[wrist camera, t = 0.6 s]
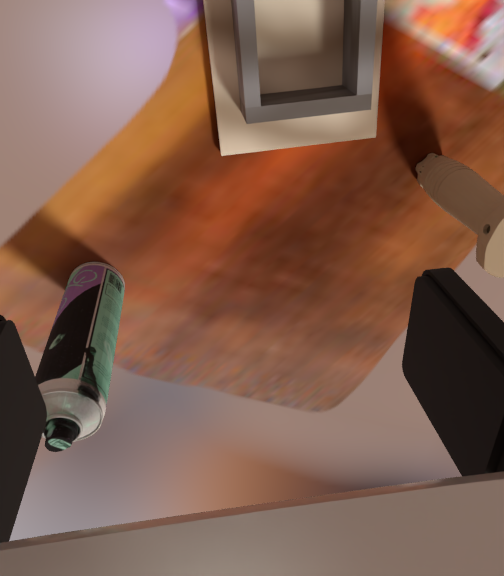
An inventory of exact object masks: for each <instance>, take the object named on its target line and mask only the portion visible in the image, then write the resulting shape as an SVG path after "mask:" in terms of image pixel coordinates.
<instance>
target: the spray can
mask: <svg viewBox="0 0 504 576" xmlns="http://www.w3.org/2000/svg"><path fill="white" fill-rule="evenodd" d="M124 291H125V283H124V280H123V277H122V275H121V274H120V273H119V272H118V271H117V270H116V269H115V268H114V267H112V266H110V265H108V264H105V263H101V262H87V263H84V264H82V265H80V266H78V267H77V268H76V269H74V271H73V272H72V273H71V276H70V278H69V280H68V283H67V286H66V289H65V292H64V295H63V298H62V301H61V304H60V307H59V309H58V312H57V315H56V318H55V321H54V324H53V327H52V330H51V333H50V336H49V339H48V341H47V344H46V347H45V350H44V353H43V356H42V359H41V362H40V365H39V368H38V371H37V373H36V376H35V379H36V381H37V384H38V386H39V389H40V392H41V394H42V397H43V400H44V402H45V405H46V409H47V420H46V424H45V427H44V430H43V433H42V437H44V438H46V441H45V447H46V448H47V449H48V450H49V451H53V452H58V451H62V450H64V449H67V448H68V447H70V446H71V444H72V442H73V441H78V440H82V439H85V438H87V437H89V436H91V435H93V434H94V433H95V432H96V431H97V430H98V429H99V428H100V426H101V423H102V420H103V417H104V415H105V411H106V405H107V398H108V392H109V386H110V379H111V373H112V367H113V360H114V354H115V348H116V341H117V335H118V329H119V322H120V316H121V310H122V303H123V297H124Z"/></svg>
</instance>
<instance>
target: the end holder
mask: <svg viewBox="0 0 504 576" xmlns="http://www.w3.org/2000/svg"><path fill="white" fill-rule="evenodd" d="M203 5H204V14H205V23H206V31H207V40H208V49H209V57H210V66H211V75H212V83H213V92H214V100H215V109H216V118H217V126H218V135H219V144H220V152H221V156H224V155H233V154H241V153H249V152H258V151H266V150H274V149H282V148H291V147H299V146H307V145H316V144H324V143H332V142H341V141H349V140H357V139H366V138H374V137H376V127H377V112H378V97H379V82H380V67H381V52H382V37H383V21H384V6H385V0H203Z"/></svg>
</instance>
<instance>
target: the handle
mask: <svg viewBox="0 0 504 576" xmlns="http://www.w3.org/2000/svg"><path fill="white" fill-rule="evenodd" d="M416 171H417V173H418V178H417V181H418V183H419V184H420V185H421V187H423V188H424V190H425V191H426V193H427V194H428V195H429V196H430V198H431V199H432V200H433V201H434V202H435V203H436V204H437V205H438V206H439V207H441V208H442V209H443V210H444V211H446V212H447V213H449V214H450V215H451V216H453V217H454V218H456V219H457V220H458V221H460V222H461V223H463V224H464V225H465V226H467V227H468V228H469V229H471V230H472V231H473V232H475V233H476V234H477V235H478V239H477V248H476V260H477V262H478V263H479V264H480V266H481V267H482V268H483V269H484V270H485V271H486V272H488V273H489V274H490V275H493V276H495V277H499V278H504V195H502V194H501V193H500V192H499V191H497V190H496V189H495V188H494V187H492V186H491V185H490V184H489V183H488V182H487V181H485V180H484V179H483V178H482V177H481V176H480V175H478V174H477V173H476V172H475V171H473V170H472V169H470V168H469V167H467V166H465V165H464V164H462V163H460V162H458V161H455V160H453V159H450V158H448V157H446V156H443V155H440V156H438V155H436V154H434V153H430V154H428V155H427V157H426V158H425V159H424V160H423V161H422V162H420V163H418V164H417V166H416Z"/></svg>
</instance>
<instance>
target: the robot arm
mask: <svg viewBox="0 0 504 576" xmlns="http://www.w3.org/2000/svg"><path fill="white" fill-rule="evenodd" d="M402 368H403V372H404V376H405V378H406V380H407V381H408V383H409V385H410V387H411V388H412V390H413V392H414V393H415V395H416V397H417V399H418V400H419V402H420V404H421V406H422V407H423V409H424V411H425V412H426V414H427V416H428V418H429V420H430V421H431V423H432V425H433V426H434V428H435V430H436V432H437V433H438V435H439V437H440V438H441V440H442V442H443V444H444V446H445V447H446V449H447V451H448V452H449V454H450V456H451V458H452V459H453V461H454V463H455V464H456V466H457V468H458V470H459V472H460V473H461V475H462V477H454V478H445V479H437V480H430V481H423V482H415V483H408V484H401V485H394V486H386V487H379V488H371V489H364V490H357V491H350V492H342V493H335V494H328V495H320V496H313V497H306V498H299V499H292V500H285V501H278V502H271V503H264V504H257V505H250V506H243V507H236V508H229V509H222V510H215V511H208V512H201V513H194V514H188V515H180V516H173V517H166V518H160V519H153V520H146V521H140V522H132V523H126V524H119V525H112V526H106V527H99V528H92V529H85V530H78V531H72V532H65V533H58V534H51V535H45V536H39V537H34V538H27V539H21V540H15V541H9V539H10V536H11V533H12V529H13V526H14V523H15V520H16V516H17V514H18V510H19V507H20V503H21V501H22V497H23V494H24V491H25V488H26V485H27V481H28V478H29V475H30V472H31V469H32V465H33V462H34V459H35V455H36V452H37V449H38V446H39V443H40V439H41V437H42V433H43V430H44V427H45V424H46V420H47V409H46V405H45V402H44V400H43V397H42V394H41V392H40V389H39V386H38V384H37V381H36V379H35V376H34V373H33V371H32V368H31V366H30V363H29V360H28V358H27V355H26V352H25V350H24V347H23V345H22V342H21V339H20V337H19V334H18V332H17V329H16V326H15V324H14V323H13V321H11V320H7V321H6V319H5V318H4V317H3V316H2V315H0V576H504V322H503V321H502V320H501V319H500V318H499V317H498V316H497V315H496V314H495V313H494V312H493V311H492V310H491V309H490V308H489V307H488V306H487V304H486V303H485V302H484V301H483V300H482V299H480V297H479V296H478V295H477V294H476V293H475V292H474V291H473V290H472V289H471V288H470V287H469V286H468V285H467V284H466V283H465V282H464V281H463V280H462V279H461V278H460V277H459V276H458V275H457V273H456V272H455V271H454V270H452V269H451V268H440V269H430V270H425V271H424V272H423V274H422V276H421V277H417V279H416V281H415V285H414V292H413V298H412V304H411V310H410V317H409V323H408V329H407V336H406V342H405V348H404V355H403V361H402Z"/></svg>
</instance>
